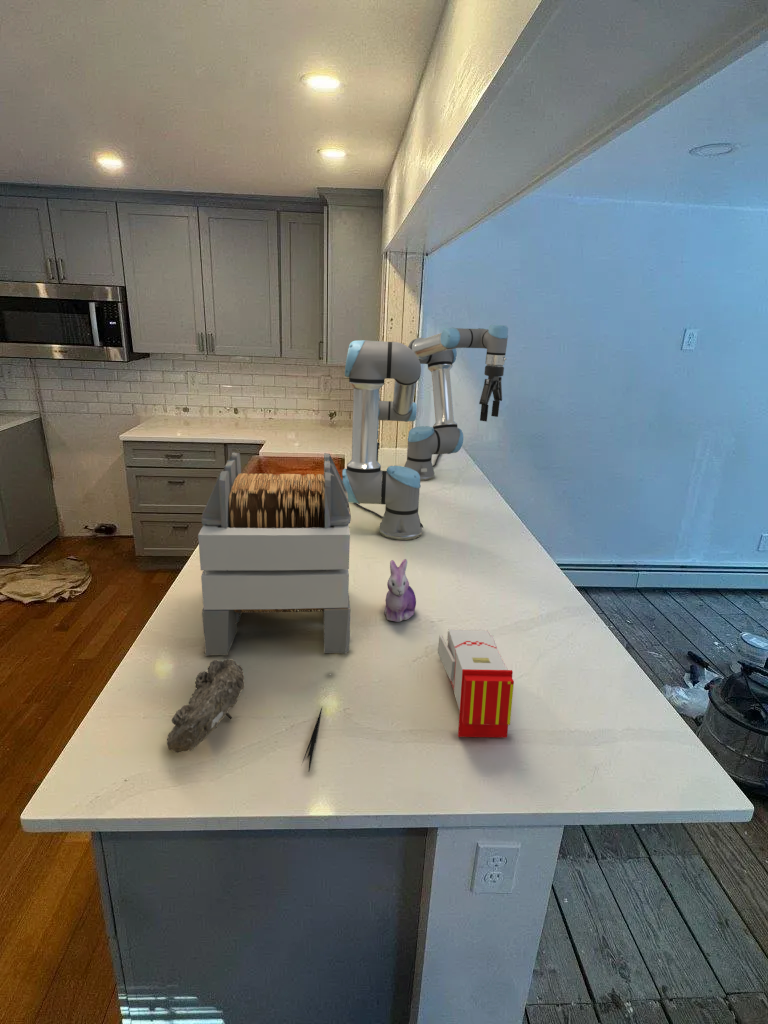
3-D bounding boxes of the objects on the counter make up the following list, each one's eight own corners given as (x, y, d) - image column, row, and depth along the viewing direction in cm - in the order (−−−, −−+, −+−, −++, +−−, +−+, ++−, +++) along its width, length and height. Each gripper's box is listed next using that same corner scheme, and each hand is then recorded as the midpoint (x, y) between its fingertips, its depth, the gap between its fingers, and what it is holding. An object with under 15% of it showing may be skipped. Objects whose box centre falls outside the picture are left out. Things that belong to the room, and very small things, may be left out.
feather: (331, 679, 122) (336, 673, 122) (307, 777, 96) (313, 769, 95) (324, 675, 122) (329, 669, 121) (298, 772, 95) (304, 764, 95)
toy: (488, 613, 130) (523, 677, 101) (484, 667, 133) (517, 744, 104) (435, 612, 130) (455, 676, 101) (432, 666, 133) (451, 743, 103)
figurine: (392, 627, 141) (395, 572, 136) (374, 608, 149) (376, 556, 144) (425, 619, 145) (429, 566, 140) (405, 601, 154) (408, 550, 149)
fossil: (192, 660, 117) (244, 628, 112) (224, 691, 120) (276, 661, 115) (142, 746, 98) (202, 712, 93) (182, 779, 101) (242, 748, 96)
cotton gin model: (226, 586, 157) (217, 442, 143) (344, 585, 161) (346, 445, 147) (202, 658, 125) (189, 482, 112) (350, 654, 129) (354, 483, 115)
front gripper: (366, 434, 226) (364, 490, 234) (387, 427, 240) (385, 480, 248) (350, 431, 229) (349, 486, 237) (372, 425, 244) (370, 477, 251)
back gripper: (493, 368, 214) (487, 424, 221) (513, 364, 235) (507, 415, 242) (474, 366, 217) (469, 421, 225) (496, 363, 238) (490, 413, 245)
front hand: (367, 483), depth 242 cm, fingers closed on box, 4 cm apart
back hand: (489, 418), depth 233 cm, fingers open, 13 cm apart
